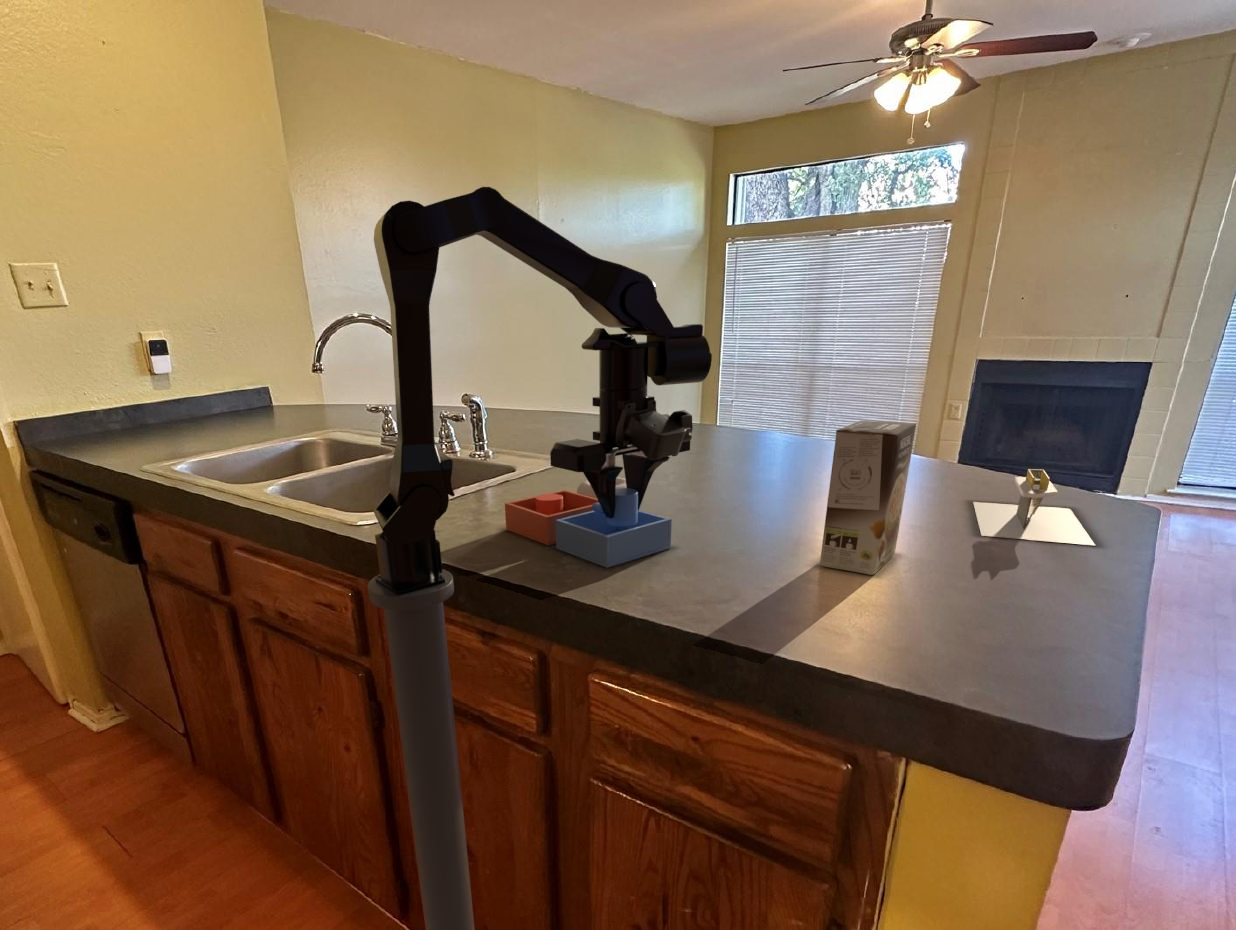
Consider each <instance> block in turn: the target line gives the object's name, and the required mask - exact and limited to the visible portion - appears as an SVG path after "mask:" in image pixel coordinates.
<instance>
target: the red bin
mask: <svg viewBox="0 0 1236 930" xmlns="http://www.w3.org/2000/svg"><path fill="white" fill-rule="evenodd" d="M548 494H559V495H562V496H563V512H561V513H556V514H552V515H548V516H547V515H544V514H541V513H538V512H536V500H535V498H536V496H537V495H535V496H531V497H525V498H522V499H518V500H513V501H508V502H504V512H505V513H504V515H505V530H506V531H509V532H511V533H514V534H517V535H520V536H522V537H525V538H528V539H530V540H533V541H536V542H538V543H541V544H544V545H545V546H551V545H556V520H558V519H562V518H566V517H570V516H574V515H578V514H582V513H586V512H590V511H593V510H592V505H593V504H594V503H599V501H598V499H596V498H593V497H589V496H585V495H582V494H578V493H577V492H573V491H570V490H567V489H564V490H558V491H553V492H549V493H548Z"/></svg>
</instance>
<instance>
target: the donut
mask: <svg viewBox="0 0 1236 930" xmlns="http://www.w3.org/2000/svg"><path fill="white" fill-rule="evenodd" d="M616 488H627V487H626V479H625V477H624V478H623V477H619V476H617V478H616ZM576 493H578V494H582V495H585V496H589V497H593V498H596V499H597V497H596V495H595V493H594V491H593V489H592V487H591V485H590V483H589V482H588V480H587V479H586V480H583V481H581V482H580V483H579V485H578V486H577V488H576Z"/></svg>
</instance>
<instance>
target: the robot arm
mask: <svg viewBox="0 0 1236 930" xmlns="http://www.w3.org/2000/svg"><path fill="white" fill-rule="evenodd" d="M474 236H479V237H482V238H483V239H485V240H487V241H488V242H490V243H492V244H493V245H495V246H497V247H498V248H500V249H501V250H503V251H504V252H506V253H508V254H510V255H511V256H512V257H514V258H516V259H518V260H519V261H521V262H523V263H524V264H526V265H527V266H529V267H531V268H532V269H534V270H535V271H537V272H538V273H540V274H542V275H543V276H545V277H547V278H548V279H550V280H551V281H552V282H555V283H557V284H558V285H559V286H561V287H563V288H565V289H566V290H567V291H568V292H569V293H570V294H572V296H573V297H574V299H576V301H577V302H578V303H579V305H580V306H581V307H582V308H583V309H584V310H585V311H586V312H587V313H588V314H589V315H591V317H593V318H594V319H595V320H596V322H599V323H600V325H602V326H604V327H606V328H614V329H615V328H616V329H620V330H621V331H623V332H624V333H609V332H608V331H607V330H606V329H605V328H604V327H595V328H594V329H593V331H592V333H591V334H590V336H589V337H588V338H586V339H585V340H584V342H582V343H581V348H582V350H586V351H598V369H599V370H598V372H599V373H598V378H599V380H598V382H599V383H598V384H599V385H598V386H599V387H598V388H599V392H598V394H599V395H598V396H593V397H592V407H598V408H599V417H598V418H599V419H598V420H599V425H598V426H599V430H595V431H592V440H586V439H580V438H574V439H569V440H563V441H557V442H554V444H553V446H552V447H551V449H550V452H549V453H550V454H549V456H550V457H549V458H550V460H549V461H550V467H553V468H558V469H563V470H566V471H571V472H574V473H583V475H584V476H585V478H586V480H588V482H589V483H590V485H591V487H592V489H593V491H594V493H595V495H596V497H597V499H598V501H599V503H600V505H601V507H602V510H603V512H604V514H605V516H606V517H607V518H613V517H614V511H615V491H616V478H617V477H619V475H620V474H621V472H622V471H623V472H624V479H626V487H627V488H630V489H635V490H637V491H638V511H639V510H640V508H641V505H642V503H643V501H644V498H645V494H646V491H647V490H648V486H649V483H650V481H651V479H652V476H653V474H654V472H655V471H656V470H657V469H658V468H659V467H660V466H661V465H662V464H664V463H665V462H668V461H669V460H670V458H671V456H672V457H677V456H678V455H679V454H680V453H684V452H689V451H691V440H692V438H693V437H692V433H693V429H694V428H693V427H694V425H693V414H692V413H690V412H689V411H687V410H685V409H682V410H681V409H680V410H675V411H673V412H672V413H671V414H669V413H664V414H661V413H659V412H658V410H657V401H656V400H655V396H651V395H648V380H649V379H648V378H650V380H651V381H652V383H653V384H654V385H656V386H670V385H683V384H696V383H701V382H703V381H705V380H706V378H707V377H708V376H709V373H710V370H711V367H712V361H713V359H712V358H713V354H712V352H711V348H710V345H709V342H708V340H707V338H706V337H705V335H704V325H703V324H702V323H699V324H698V323H692V324H690V323H689V324H683V325H680V326H674V325H673V323H672V322H671V320H670V318H669V316H668V315H667V313H666V311H665V310H664V308H663V306H662V305H661V304H660V302H659V300H658V295H657V286H656V283H655V282H654V280H653V279H651V277H649V276H648V275H647V274H645V273H643V272H641V271H639V270H635V269H633V268H631V267H628V266H626V265H623V264H620V263H617V262H613V261H609V260H607V259H602V258H601V257H600V258H599V257H597V256H595V255H592V254H590V253H589V252H587V251H586V250H584V249H583V248H581V247H579V246H578V245H577V244H575V243H573V242H572V241H571V240H569V239H567V237H564V236H563V235H561V234H560V233H558V232H557V231H555V230H553V229H552V228H551V227H549V226H548V225H546V224H544V223H543V222H541V221H540V220H539V219H537V218H535V217H534V216H532V215H531V214H529V213H528V212H526V211H525V210H523V209H521V208H520V207H518V206H517V205H515V204H514V203H512V202H511V201H509V200H508V199H506V198H505V197H504V196H503V195H502V194H501V193H500V192H499V190H497V189H496V188H493V187H491V186H481V187H479V188H477V189H475V190H474V191H472V192H469V193H466V194H462V195H458V196H455V197H451V198H447V199H443V200H440V201H436V202H434V203H430V204H427V205H423V204H421V203H420V202H417V201H413V200H403V201H401V200H400V201H399V202H397V203H395V204H392V205H391V206H390V208H389V209H387V211H386V212H385V213H384V214H383V215H382V216H381V217H380V218H379V219H378V221H377V222H376V224H375V227H374V231H373V244H374V248H375V253H376V257H377V261H378V267H379V271H380V274H381V279H382V282H383V285H384V289H385V292H386V296H387V299H388V304H389V308H390V309H389V311H390V326H391V328H390V329H391V345H392V362H393V379H394V380H393V381H394V398H395V414H396V415H395V416H396V430H397V431H396V434H397V436H396V444H395V447H394V451H393V457H392V462H391V468H390V469H391V471H390V478H389V487H388V489H389V491H388V492H387V493H386V495H384V497H383V498H382V500H381V501H380V502H379V503H378V504H377V505H376V507H375V508H374V510H373V514H374V516H375V518H376V520H377V522H378V525H379V527H380V529H381V530H382V531H381V532H380V533H377V534H374V538H375V546H376V555H377V562H378V569H379V575H380V576H378V575H376V576H374V577H375V581H376V582H378V583H379V584H381V585H382V586H384V587H385V588H387V589H388V590H390V591H391V592H393V593H394V594H396V595H402V594H406V593H409V592H413V591H416V590H420V589H423V588H427V587H430V586H434V585H438V584H441V583H445V582H446V577H444V576H442V575H440V573H442V569H443V563H442V561H443V560H442V551H441V542H440V540H439V539H437V537H436V530H435V527H436V523H437V521H438V520H440V519H441V518H442V517H443V515H444V514H445V513H446V512H447V510H448V508H449V502H450V496H451V497H455V491H454V489H453V486H452V473H453V466H454V463H453V459H452V458H451V457H449V456H448V455H447V454H446V453H445V452H443V451H442V450H439V451H438V448H437V445H436V440H435V422H434V396H433V392H434V391H433V371H432V370H433V367H432V344H431V343H432V340H431V317H430V303H431V298H432V293H433V290H434V289H433V288H434V284H435V279H436V275H437V269H438V261H439V253H440V248H442V247H446V246H448V245H450V244H453V243H457V242H459V241H462V240H465V239H468V238H470V237H474ZM634 336H645V337H646V341H637V340H636V338H635V337H634ZM618 456H622V457H621V458H622V462H623V463H622V464H623V466H619V465H616V457H618Z"/></svg>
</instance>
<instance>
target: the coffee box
mask: <svg viewBox="0 0 1236 930" xmlns="http://www.w3.org/2000/svg"><path fill="white" fill-rule="evenodd" d="M916 429H917V423H916V422H905V421H901V422H900V421H888V420H886V421H884V420H877V421H875V420H874V421H873V420H859V421H856V422H854V423H851V424H849V425H847V426H843V427H841V428H838V429H836V430H835V440H834V448H833V449H834V450H833V454H832V455H833V456H832V464H831V473H830V480H829V489H828V496H827V504H826V511H825V512H826V513H825V519H824V527H823V535H822V542H821V543H822V544H821V551H820V558H819V559H820V560H819V565H820V566H821V567H824V568H832V569H837V570H842V571H849V572H854V573H860V574H865V575H870V576H873V575H875V574H876V573H877V572H878V571H879V570H880V569H881V568H883V566H885V565H886V563H887V562H888V561H890V559H892V558H893V557H894V556H895V555H896V549H897V544H898V539H899V533H900V525H901V520H902V513H903V508H904V502H905V501H904V500H905V495H906V491H907V490H906V489H907V483H908V477H909V472H910V471H909V470H910V465H911V459H912V453H913V447H914V440H915V436H916V435H915V434H916Z"/></svg>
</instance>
